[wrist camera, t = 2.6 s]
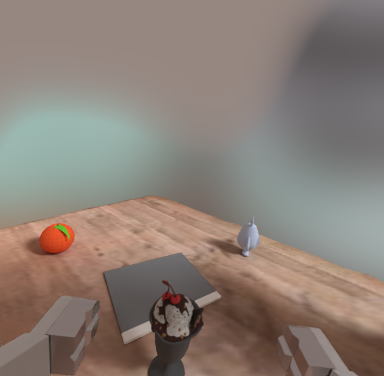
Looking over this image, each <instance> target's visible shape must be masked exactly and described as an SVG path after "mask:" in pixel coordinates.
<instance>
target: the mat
mask: <svg viewBox="0 0 384 376" xmlns="http://www.w3.org/2000/svg"><path fill="white" fill-rule="evenodd" d="M104 276H105V279H106V283H107V286H108V290H109V293H110V297H111V300H112V303H113V307H114V310H115V314H116V317H117V321H118V324H119V328H120V331H121V334H122V338H123V342H124V345H125V344H127V343H129V342H131V341H134V340H136V339H138V338H140V337H142V336H144V335H146V334H148V333H150V332H152V330H151V324H150V321H149V313H150V310H151V308H152V306H153V304H154V303H155V302H156V301H157V300H158V299H159V298H160V297H162V295H163V293H165V292H167V291H168V286H167V285H166V284H164V283H162V280H164V281H168V284H170V285H171V286H172V288H173V290H174V292H175V294H183V295H185V296H186V297H188V298H190V299H192V300H193V301H195V302H196V303H197V305H198V306H199V308H202V307H204V306H206V305H208V304H210V303H212V302H214V301H216V300H218V299H220V298H221V295H220V294H219V293H218V292H217V291H216V290H215V289H214V288H213V287H212V286H211V285H210V284H209V283H208V281H207V280H206V279H205V278H204V277H203V276H202V275H201V274H200V273H199V272H198V270H197V269H196V268H195V267H194V266H193V265H192V264H191V263H190V262H189V261H188V259H187V258H186V257H185V256H184V255H183V254H182V253H177V254H173V255H169V256H165V257H161V258H157V259H153V260H149V261H145V262H141V263H137V264H133V265H129V266H125V267H121V268H117V269H113V270H109V271H105V272H104ZM169 292H170V293H171V294H173V291H172V289H171V287H170V286H169Z"/></svg>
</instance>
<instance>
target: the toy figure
mask: <svg viewBox="0 0 384 376" xmlns="http://www.w3.org/2000/svg"><path fill="white" fill-rule="evenodd" d="M253 222H254V217H252V220H251V223H247V224H246V225H245V226H244V227H243V228H242V229H241V231H240V232H239V234H238V238H237V240H238V244H239V245H240V247H241V248H242V250H243V251H242V254H243V255H244V256H249V253H248V252H249V251H250V250H253V249H254V248H256V247H257V245H258V243H259V236H258V230H257V227H256V225H254V224H253Z"/></svg>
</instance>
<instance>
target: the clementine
mask: <svg viewBox="0 0 384 376" xmlns="http://www.w3.org/2000/svg"><path fill="white" fill-rule="evenodd" d="M74 236H75V235H74V232H73V230H72V228H71V227H69V226H68V225H65V224H61V223H58V224H53V225H51V226H49V227H47V228H46V229H45V230H44V231H43V232H42V234H41V236H40V245H41V247H42V248H43V249H44V250H45V251H47V252H50V253H59V252H62V251H64V250H66V249H68V248H69V247H70V246H71V245H72V243H73V241H74Z"/></svg>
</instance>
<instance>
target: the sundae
mask: <svg viewBox="0 0 384 376" xmlns="http://www.w3.org/2000/svg"><path fill="white" fill-rule="evenodd" d="M162 283H164V284H166V285H167V286H168V291H167V292H165V293H163V295H162V297H160V298H159V299H158V300H157V301H156V302H155V303H154V304H153V306H152V308H151V310H150V313H149V321H150V324H151V330H152V332H155V344H156V351H157V354H158V356H157V357H156V358H155V359H154V360H153V361H152V363H151V365H150V368H149V376H184V375H185V372H184V366H183V363H182V361H181V359H182V357H183V356H184V354H185V352H186V350H187V348H188V346H189V343H190V340H191V338H193V337H195V336H196V335H197V334H198V333H199V331H200V330H201V328H202V326H203V324H204V323H203V319H202V312H203V308H199V306H198V305H197V303H196V302H195V301H193V300H192V299H190V298H188V297H186V296H185V295H183V294H175V292H174V290H173V288H172V286H171V285H170V284H168V281H164V280H162ZM169 286H170V287H171V289H172V291H173V294H171V293H170V292H169Z"/></svg>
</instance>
